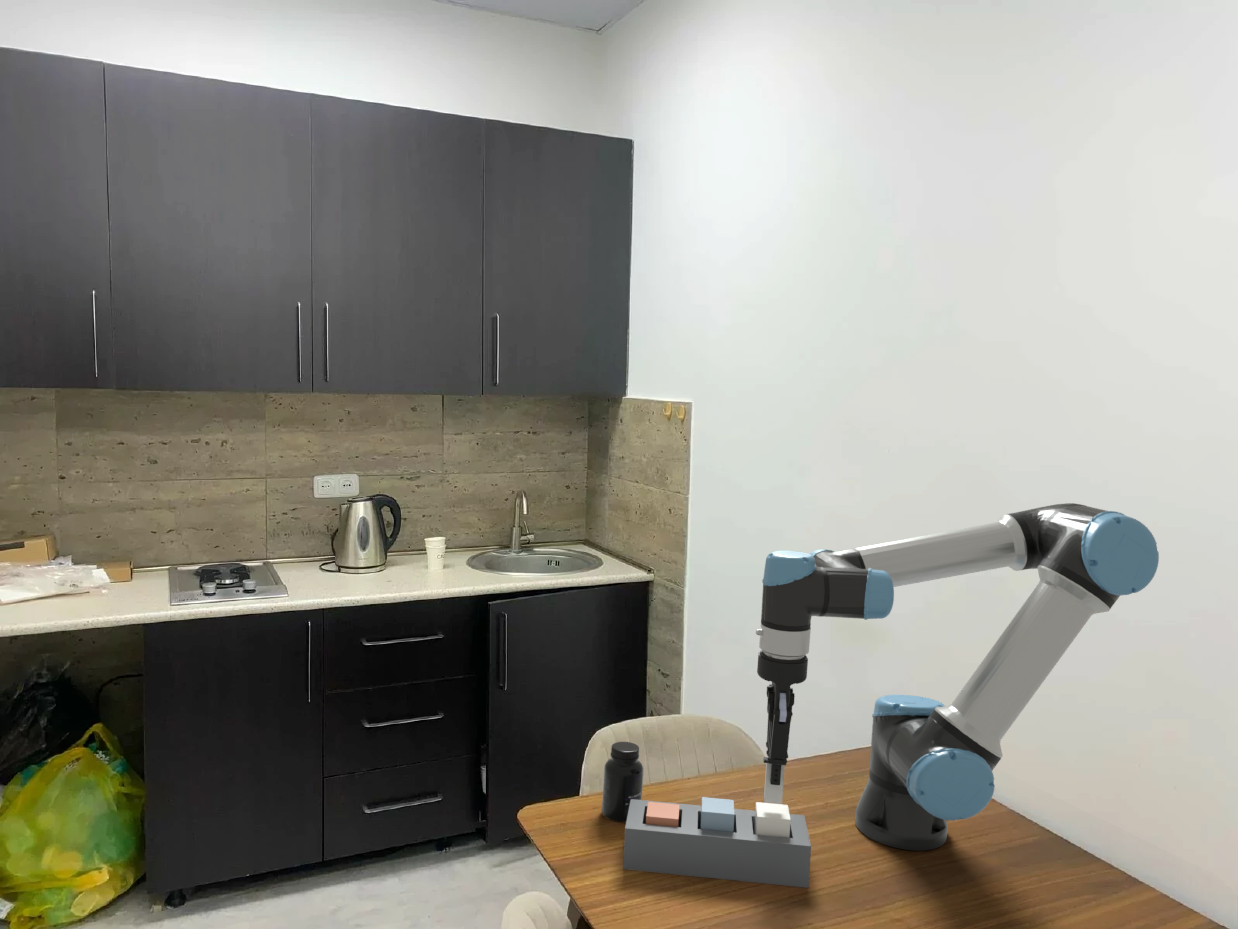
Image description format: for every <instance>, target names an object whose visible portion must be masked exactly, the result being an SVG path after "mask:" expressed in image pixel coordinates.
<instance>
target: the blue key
mask: <svg viewBox="0 0 1238 929" xmlns="http://www.w3.org/2000/svg"><path fill="white" fill-rule="evenodd" d="M700 806H701V823H700V829H703V830H714V831H724V832H733V830H734V809H735V801H734V799H728V798H727V799H726V798H717V797H708V796H707V797H706V796H702V797H701V805H700Z"/></svg>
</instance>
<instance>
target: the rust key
mask: <svg viewBox="0 0 1238 929" xmlns="http://www.w3.org/2000/svg"><path fill="white" fill-rule="evenodd" d="M657 802H658V801H657ZM657 802H648V807H647V814H646V824H651V825H662V826H672V827H678V823H679V805H678V804H668V803H669V802H668V803H657Z"/></svg>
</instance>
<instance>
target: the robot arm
mask: <svg viewBox="0 0 1238 929" xmlns="http://www.w3.org/2000/svg"><path fill="white" fill-rule="evenodd" d="M1159 559H1160V556H1159V551H1158V546H1157V541H1156V538H1155V537H1154V535H1153V533H1152V532H1151V531H1150V529H1149V528H1148V527H1147V526H1146V525H1145V524H1144V523H1143V522H1141V521H1140V520H1138V519H1136V518H1134V517H1132V516H1128V515H1125V514H1124V513H1122V512H1120V511H1112V510H1110V511H1109V510H1105V509H1102V508H1101V509H1100V508H1097V507H1092V506H1088V505H1084V504H1081V503H1080V504H1079V503H1073V502H1072V503H1058V504H1051V505H1046V506H1041V507H1036V508H1031V509H1027V510H1022V511H1021V510H1020V511H1017V512H1012V513H1011V512H1010V513H1006V514H1002V515H1001V516H1000V517H999V518H998V520H997V521H996V522H992V523H991V522H990V523H985V524H979V525H974V526H969V527H968V526H967V527H963V528H959V529H954V530H947V531H941V532H936V533H931V534H926V535H921V536H920V535H919V536H915V537H909V538H905V539H904V538H903V539H899V540H894V541H893V540H892V541H888V542H882V543H877V544H872V545H867V546H866V545H865V546H861V547H855V548H850V549H843V550H837V551H834V550H831V549H825V548H823V549H821V548H820V549H816V550H813V551H812V552H810V553H808V552H802V551H794V550H776V551H771V552H770V553H769V554H768V555H767V556H766V559H765V564H764V571H763V579H762V580H761V581H762V596H761V599H762V600H761V616H760V618H761V619H760V628H757V629H756V630H755V634H756V636H758V637H759V643H758V644H759V646H758V647H759V649H761V650H760V651H759V652H758V655H757V656H758V657H757V670H756V672H757V675H758V676H759V677H760V678H761V679H762V680H764V681H766V682H771V683H769V684H768V685H767V686H766V697H767V705H766V711H767V728H766V729H767V730H766V741H765V742H766V743H765V746H766V753H765V754H766V755H767V756H765V757H763V758H762V759H763V763H764V764H765V774H764V775H765V776H764V788H763V789H764V790H763V803H772V804H783V795H784V780H785V766H787V763H788V759H789V753H788V749H789V741H790V728H791V722H792V717H793V706H794V705H795V697H796V696H795V693H794V688H793V687H791V686H792V685H795V684H796V685H797V684H801V683H803V682H805V681H806V679H807V677H808V666H809V665H808V664H809V658H808V657H807V654H809V652H810V642H811V641H810V640H811V625H812V624H811V620H812V617H819V618H821V617H824V618H825V617H826V618H843V619H844V618H845V619H863V620H866V621H868V620H874V619H875V620H876V619H881V620H883V619H885V618H887V617H888V616H889V615H890V613H891V612H892V610H893V606H894V601H895V599H894V598H895V590H894V589H895V588H896V587H901V586H903V587H904V586H907V585H912V584H918V583H923V582H929V581H937V580H940V579H947V578H952V577H957V576H958V577H959V576H961V575H962V576H963V575H968V574H974V573H979V572H984V571H989V570H990V571H991V570H996V569H1001V568H1006V567H1008V568H1009V569H1012V570H1013V571H1016V572H1018V571H1019V572H1020V571H1025V570H1031V569H1032V570H1034V569H1035V570H1037V572H1038V576H1039V581H1038V582H1039V583H1037V585H1036V587H1035V588H1034V589H1033V590H1032V591H1031V593H1030V594H1029V596H1028V597H1027V599H1025V601H1024V602H1023V604H1022V606H1021V607H1020V609H1019V610H1018V611H1017V613H1015V615H1014V617H1013V618H1012V619H1011V621H1010V622H1009V624H1008V625H1007V626H1006V628H1005V629H1004V630H1003V632H1002V633H1001V635H999V637H998V639H997V640H996V641H995V643H994V644H993V646H992V647H991V649H990V650H989V651H988V652H987V654H986V655H985V657H984V658H983V659H982V661H981V662H980V664H979V665H978V666H977V668H976V670H975V671H974V672H973V673H972V675H971V676H970V677H969V679H968V680H967V682H966V683H965V684H964V686H963V687H962V689H961V690H960V691H959V693H958V694H957V695H956V696H955V698H954V700H952V703H950V704H949V705H945V704H944V703H942V702H940V701H939V700H937V699H936V700H935V699H934V698H930V697H924V696H919V695H918V696H917V695H913V694H912V695H911V694H888V695H883V696H880V697H878V698H877V699H876V700H875V702H874V709H873V713H872V727H871V728H872V730H871V731H872V732H871V740H870V741H871V743H870V744H871V745H870V755H869V756H870V757H869V773H868V779H867V780H868V781H867V782H866V785H865V787H864V789H863V791H862V794H861V796H860V798H859V800H858V803H857V805H856V808H855V818H854V822H855V825H856V828H857V829H858V830H859V831H860V832H861V833H862V834H864V836H866V837H868V839H869V838H870V839H871V840H873V841H875V842H877V843H880V844H881V845H885V846H888V847H892V848H895V849H899V850H900V849H901V850H907V851H916V852H917V851H931V850H934V849H938V848H940V847H942V846H943V845H944V844H946V842H947V839H948V838H947V837H948V829H949V828H948V821H950V822H951V821H958V820H966V819H969V818H972V817H974V816H976V815H977V814H980V813H981V812H982V811H983V810H984V809H985V808H986V807H987V806H988V805H989V804H990V802H991V800H992V798H993V796H994V792H995V789H996V786H995V783H994V782H995V776H994V772H993V770H994V769H995V768H996V767H997V765H998V763H999V762H1000V761H1001V760H1002V758H1003V751H1002V747H1001V746H1002V745H1001V742H1002V739H1003V737H1005V735H1006V733H1008V732H1009V730H1010V728H1011V727H1012V725H1013V724H1014V722H1016V720H1017V718H1018V717H1019V716H1020V715H1021V713H1022V712H1023V711H1024V709H1025V707H1026V706H1028V704H1029V702H1030V701H1031V699H1032V698H1033V697H1034V695H1035V693H1036V692H1038V689H1039V688H1040V687H1041V686H1042V684H1043V683H1044V681H1045V680H1046V679H1047V677H1048V676H1049V674H1050V673H1051V672H1052V671H1053V669H1054V668H1055V666H1056V665H1057V664H1058V662H1059V661H1060V660H1061V658H1062V657H1063V656H1064V654H1065V652H1066V651H1067V650H1068V649H1069V648H1070V646H1071V645H1072V643H1073V642H1074V640H1076V637H1077V636H1078V634H1079V633H1080V632H1081V631H1082V629H1083V628H1084V627H1085V625H1086V624H1087V622H1088V621H1089V619H1090V618H1091V617H1092V616H1093V615H1095V614H1096V615H1097V614H1101V613H1107V612H1109V611H1110V610H1111V609H1112V608H1113V606H1114V605H1115V603H1116V601H1118V599H1119V598H1120V596H1127V595H1128V596H1129V595H1131V594H1133V593H1134V594H1136V593H1138V592H1141V591H1143V590H1144V589H1146V587H1148V585H1149V584H1150V583H1151V582H1152V580H1153V579H1154V577H1155V575H1156V573H1157V570H1158V567H1159Z"/></svg>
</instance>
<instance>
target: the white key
mask: <svg viewBox="0 0 1238 929" xmlns="http://www.w3.org/2000/svg"><path fill="white" fill-rule="evenodd" d="M754 809H755V810H754V811H755V823H754V834H755V835H766V836H776V837H786V838H789V835H790V821H791V820H790V814H791V813H790V810H789V809H790V808H789V805H788V804H783V803H782V804H774V803H764V802H760V801H759V802H758V801H757V802H756V801H755V808H754Z"/></svg>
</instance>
